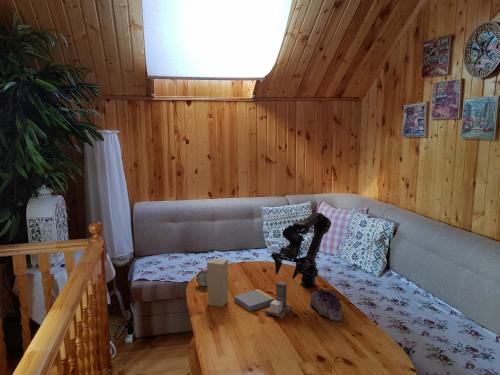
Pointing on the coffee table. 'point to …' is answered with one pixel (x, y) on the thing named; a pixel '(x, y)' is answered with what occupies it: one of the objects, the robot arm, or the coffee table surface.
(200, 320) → the coffee table surface
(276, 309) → the box
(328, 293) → the geode
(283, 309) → the grey column with base
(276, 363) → the coffee table surface
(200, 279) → the tin
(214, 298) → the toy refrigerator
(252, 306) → the dock
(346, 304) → the coffee table surface
